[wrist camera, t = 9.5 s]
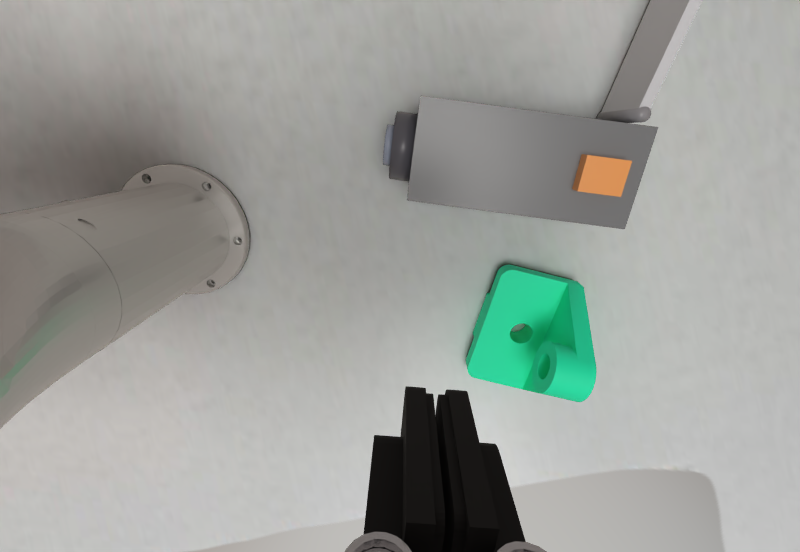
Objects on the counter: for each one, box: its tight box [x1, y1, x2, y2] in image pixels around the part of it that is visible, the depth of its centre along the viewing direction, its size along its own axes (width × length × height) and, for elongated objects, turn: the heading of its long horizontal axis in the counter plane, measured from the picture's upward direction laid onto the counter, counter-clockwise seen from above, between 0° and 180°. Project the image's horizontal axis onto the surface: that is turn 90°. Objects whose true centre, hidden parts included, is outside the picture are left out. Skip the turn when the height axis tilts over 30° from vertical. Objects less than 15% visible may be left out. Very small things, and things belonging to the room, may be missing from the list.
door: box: [597, 0, 703, 123], centre depth 28 cm, size 14×1×6 cm, turn 164°
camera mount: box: [466, 265, 596, 402], centre depth 36 cm, size 12×8×10 cm, turn 166°
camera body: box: [383, 96, 658, 229], centre depth 31 cm, size 18×7×9 cm, turn 83°
